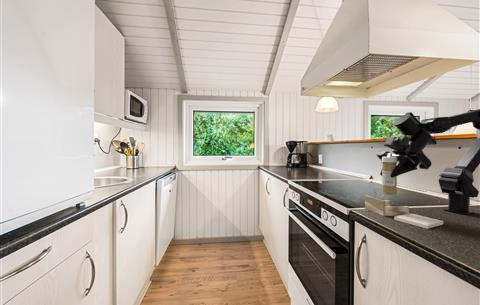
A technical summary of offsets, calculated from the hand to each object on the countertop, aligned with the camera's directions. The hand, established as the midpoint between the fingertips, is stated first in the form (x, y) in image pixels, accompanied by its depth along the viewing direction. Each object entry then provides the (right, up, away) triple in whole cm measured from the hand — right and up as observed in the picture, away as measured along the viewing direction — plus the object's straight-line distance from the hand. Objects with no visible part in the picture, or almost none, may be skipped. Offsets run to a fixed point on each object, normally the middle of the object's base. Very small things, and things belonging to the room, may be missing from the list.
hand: (385, 175), depth 80 cm
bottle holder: (+1, -13, +2) cm, 13 cm away
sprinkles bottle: (+1, -7, 0) cm, 7 cm away
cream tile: (+4, -13, -10) cm, 17 cm away
